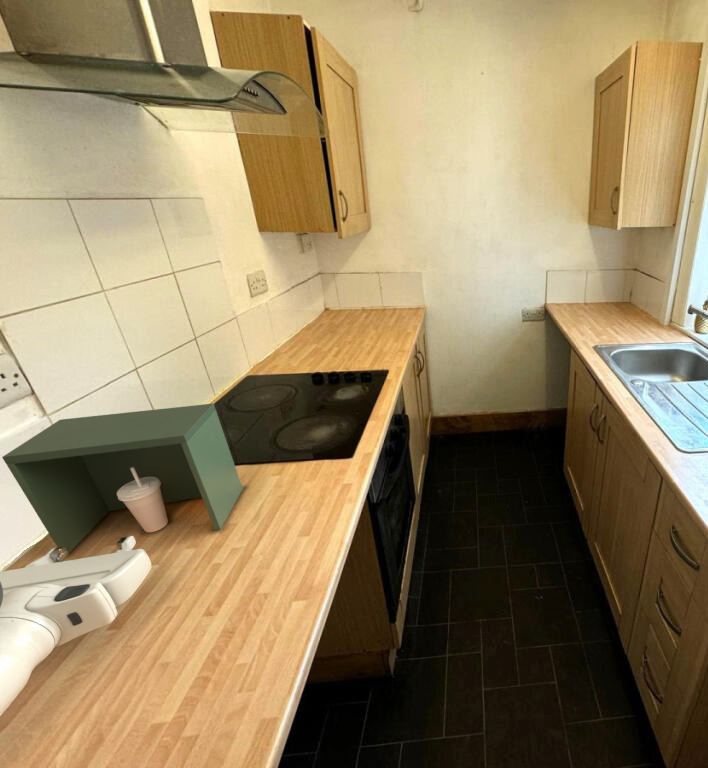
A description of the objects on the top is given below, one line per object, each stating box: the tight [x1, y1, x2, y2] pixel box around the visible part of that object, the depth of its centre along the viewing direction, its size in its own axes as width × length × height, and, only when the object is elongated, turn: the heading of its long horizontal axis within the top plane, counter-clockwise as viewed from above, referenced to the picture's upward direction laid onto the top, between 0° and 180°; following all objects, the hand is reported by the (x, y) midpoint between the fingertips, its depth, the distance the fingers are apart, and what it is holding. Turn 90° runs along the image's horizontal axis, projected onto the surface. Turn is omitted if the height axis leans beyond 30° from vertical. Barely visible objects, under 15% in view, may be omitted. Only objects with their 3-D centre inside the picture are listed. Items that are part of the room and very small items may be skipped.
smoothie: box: [117, 467, 169, 533], centre depth 80 cm, size 6×6×14 cm
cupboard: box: [1, 403, 244, 555], centre depth 80 cm, size 26×13×22 cm, turn 104°
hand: (95, 544), depth 68 cm, fingers open, 8 cm apart
